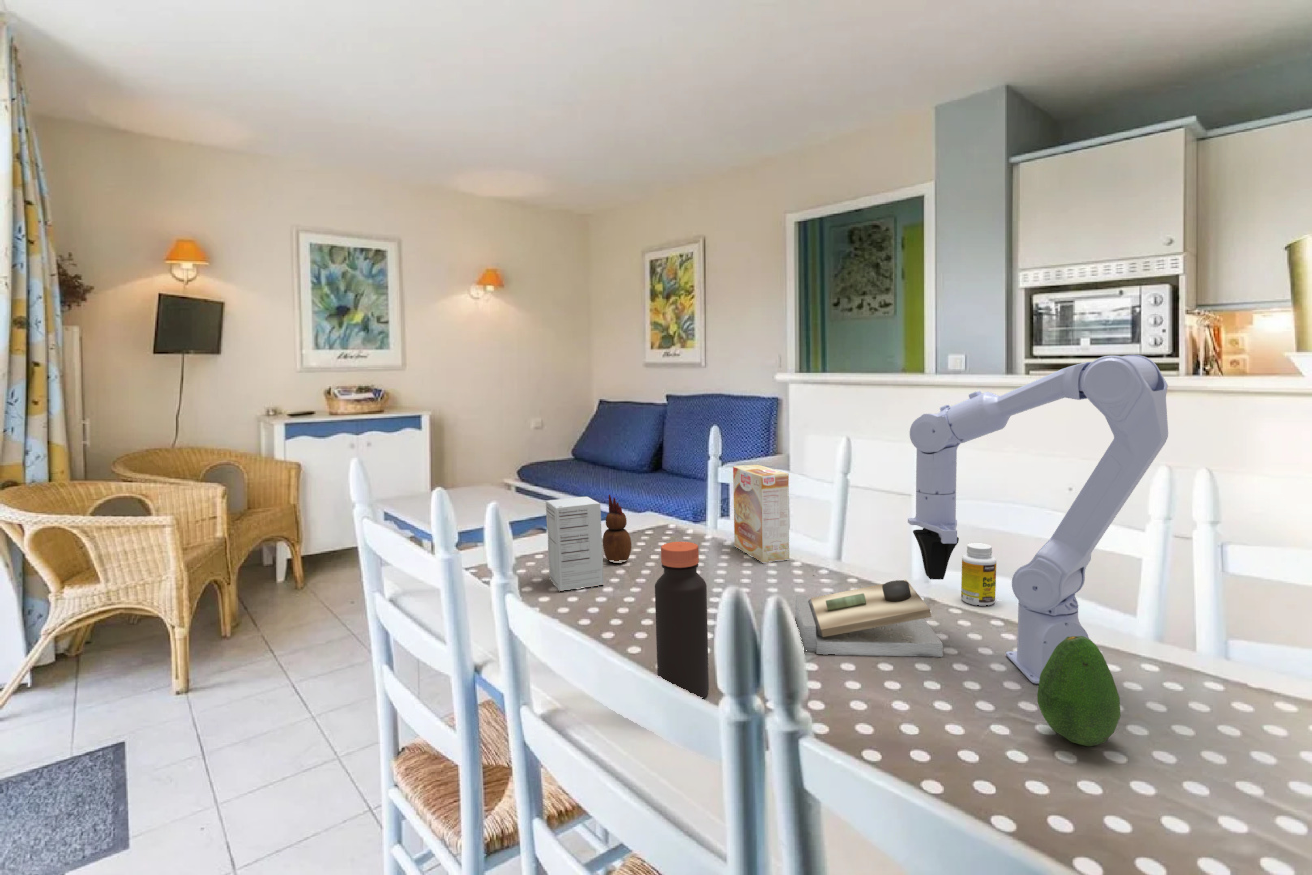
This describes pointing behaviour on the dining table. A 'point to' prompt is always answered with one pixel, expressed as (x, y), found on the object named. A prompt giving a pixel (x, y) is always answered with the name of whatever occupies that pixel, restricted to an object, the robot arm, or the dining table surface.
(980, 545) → the supplement bottle
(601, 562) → the supplement box
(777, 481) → the coffeecake box
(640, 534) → the dining table surface
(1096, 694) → the avocado
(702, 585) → the vinegar
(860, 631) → the level base
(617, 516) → the wooden figurine
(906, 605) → the plate
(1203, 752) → the dining table surface
